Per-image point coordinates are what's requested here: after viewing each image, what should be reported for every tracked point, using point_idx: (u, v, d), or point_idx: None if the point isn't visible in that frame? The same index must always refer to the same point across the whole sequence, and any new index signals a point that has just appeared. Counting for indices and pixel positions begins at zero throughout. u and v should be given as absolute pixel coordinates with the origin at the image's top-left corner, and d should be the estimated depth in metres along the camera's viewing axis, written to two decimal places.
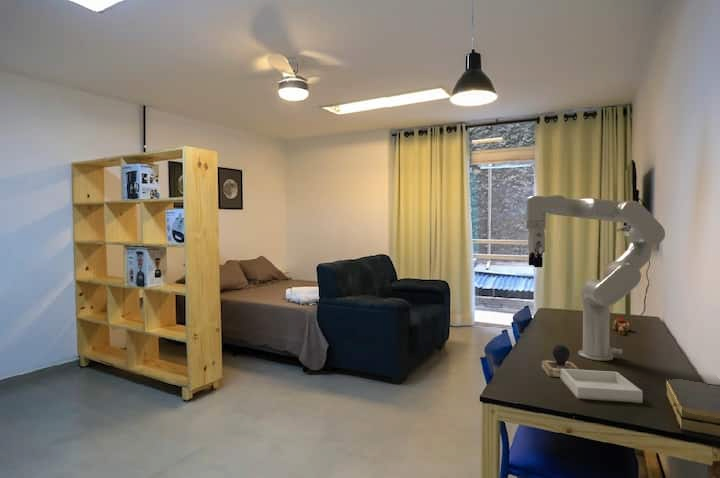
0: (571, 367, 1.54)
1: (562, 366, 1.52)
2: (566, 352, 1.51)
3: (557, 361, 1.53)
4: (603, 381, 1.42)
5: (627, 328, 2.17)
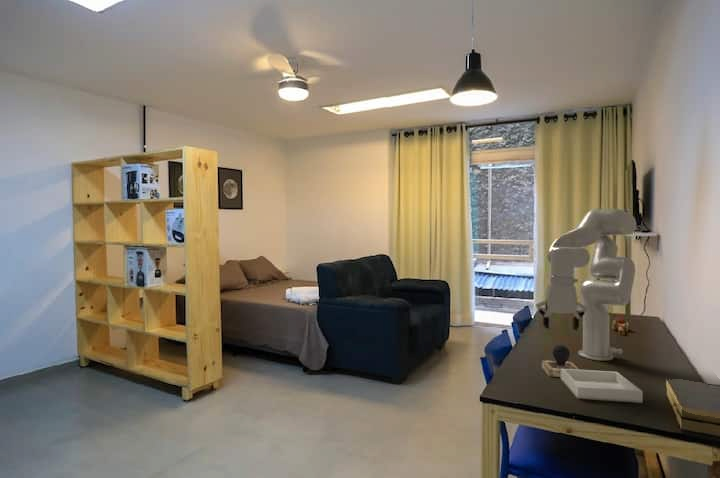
0: (571, 367, 1.54)
1: (562, 366, 1.52)
2: (566, 352, 1.51)
3: (557, 361, 1.53)
4: (603, 381, 1.42)
5: (626, 328, 2.17)
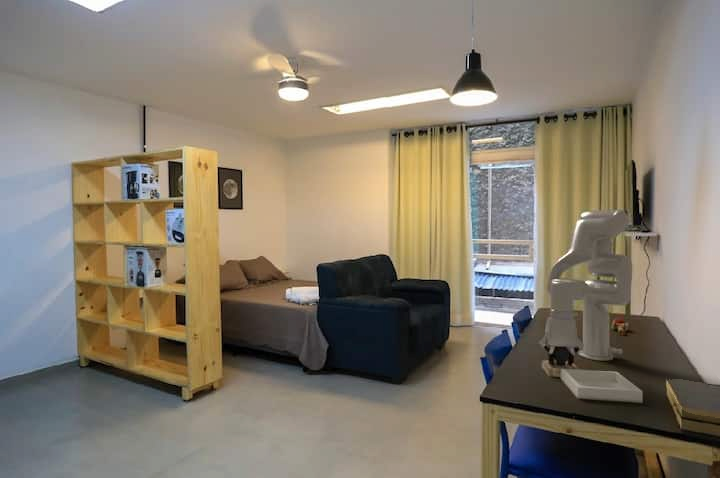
0: (571, 367, 1.54)
1: (562, 366, 1.52)
2: (566, 352, 1.51)
3: (557, 361, 1.53)
4: (603, 381, 1.42)
5: (626, 328, 2.17)
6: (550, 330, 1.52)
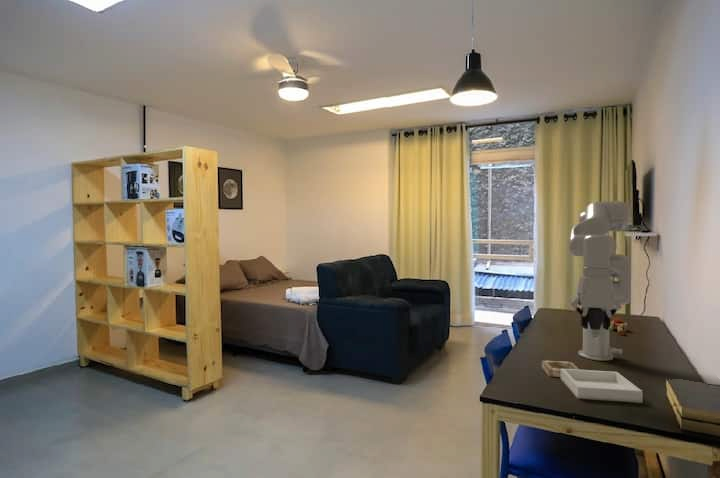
0: (571, 367, 1.54)
1: (597, 330, 1.36)
2: (602, 314, 1.35)
3: (591, 324, 1.37)
4: (603, 381, 1.42)
5: (625, 328, 2.16)
6: (583, 290, 1.36)
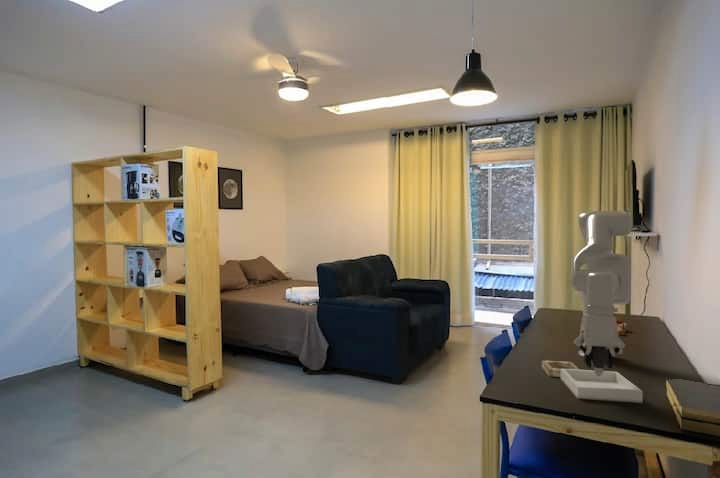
0: (571, 367, 1.54)
1: (600, 368, 1.35)
2: (605, 353, 1.34)
3: (595, 363, 1.36)
4: (603, 381, 1.42)
5: (625, 328, 2.16)
6: (587, 328, 1.35)
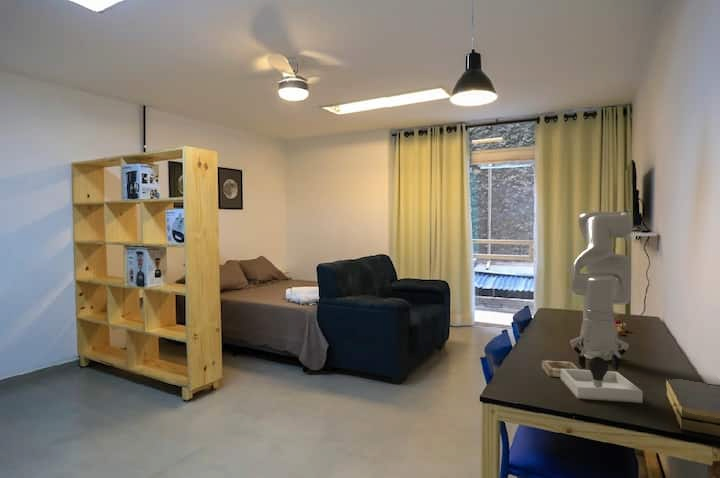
0: (571, 367, 1.54)
1: (600, 381, 1.35)
2: (605, 365, 1.34)
3: (594, 375, 1.36)
4: (603, 381, 1.42)
5: (624, 328, 2.16)
6: (587, 333, 1.35)
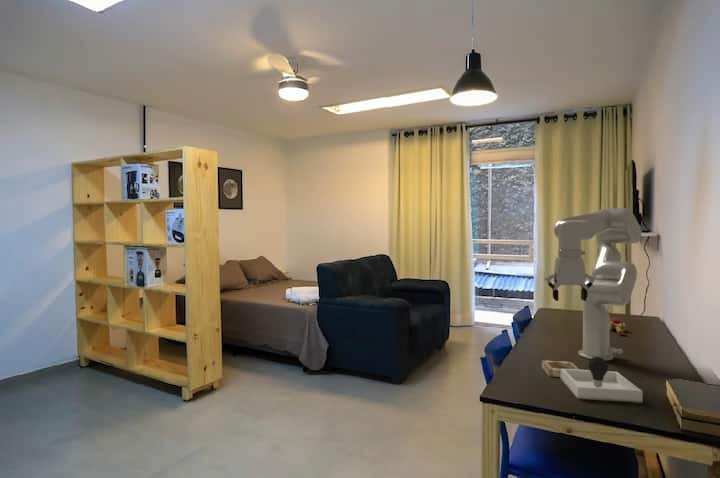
0: (571, 367, 1.54)
1: (600, 381, 1.35)
2: (604, 365, 1.34)
3: (594, 375, 1.36)
4: (603, 381, 1.42)
5: (623, 328, 2.16)
6: (559, 269, 1.55)
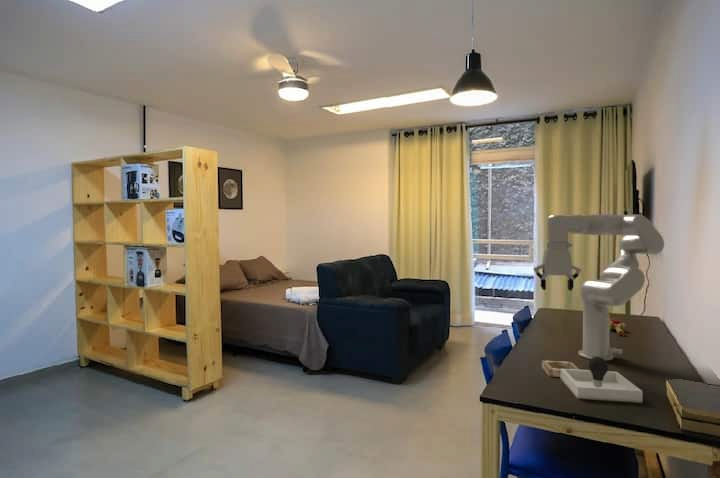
0: (571, 367, 1.54)
1: (600, 381, 1.35)
2: (605, 365, 1.34)
3: (594, 375, 1.36)
4: (603, 381, 1.42)
5: (623, 329, 2.16)
6: (547, 260, 1.65)
